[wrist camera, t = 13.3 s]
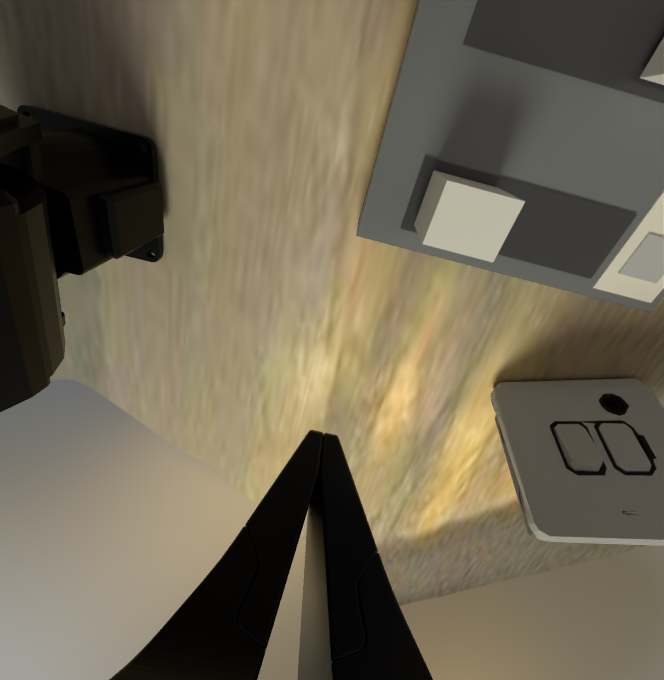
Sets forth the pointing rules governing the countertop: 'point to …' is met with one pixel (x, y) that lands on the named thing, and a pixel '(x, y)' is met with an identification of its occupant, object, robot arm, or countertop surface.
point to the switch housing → (535, 138)
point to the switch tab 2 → (655, 66)
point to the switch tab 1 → (466, 216)
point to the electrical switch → (585, 458)
